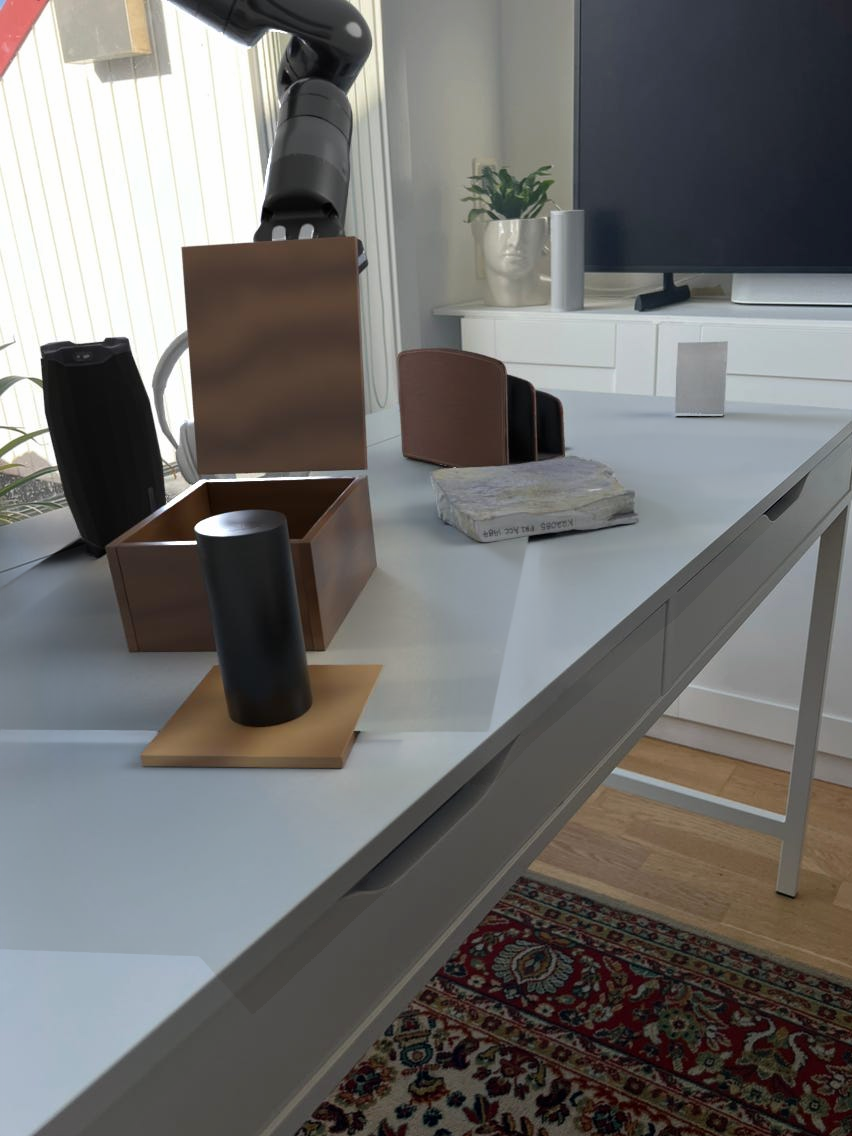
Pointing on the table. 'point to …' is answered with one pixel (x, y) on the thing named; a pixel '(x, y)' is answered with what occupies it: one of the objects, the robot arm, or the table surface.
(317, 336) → the lid
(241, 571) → the tin
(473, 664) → the table surface
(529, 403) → the letter holder
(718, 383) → the grey rectangular block
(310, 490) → the wooden box
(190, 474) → the headphones
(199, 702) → the board
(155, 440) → the portable speaker
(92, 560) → the table surface
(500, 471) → the fossil
